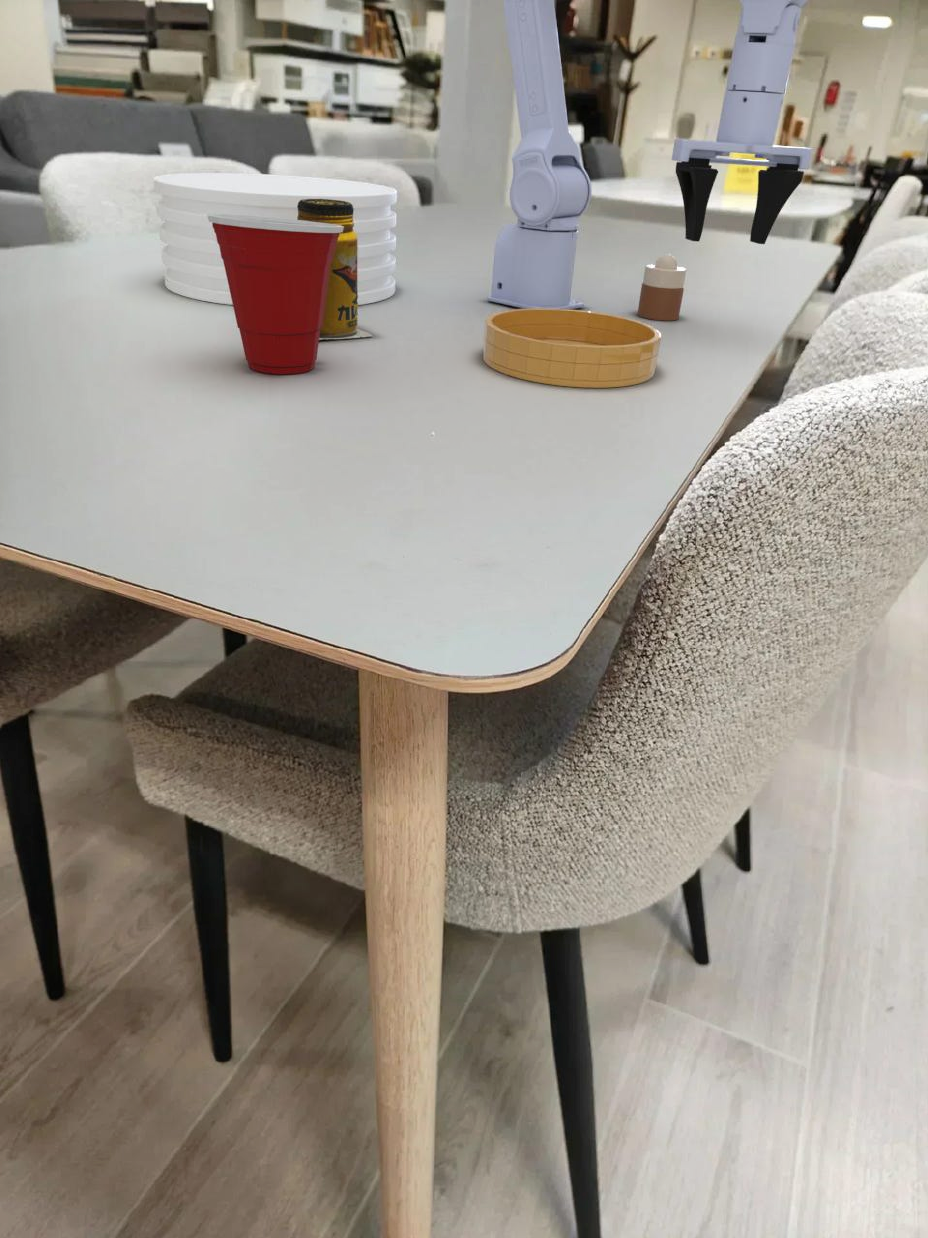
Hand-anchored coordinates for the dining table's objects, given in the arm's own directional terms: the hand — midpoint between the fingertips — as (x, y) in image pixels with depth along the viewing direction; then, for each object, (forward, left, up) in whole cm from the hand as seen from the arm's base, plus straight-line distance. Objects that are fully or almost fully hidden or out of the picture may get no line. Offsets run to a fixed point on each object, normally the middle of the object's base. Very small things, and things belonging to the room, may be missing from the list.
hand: (725, 241), depth 92 cm
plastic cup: (-17, -46, -10) cm, 50 cm away
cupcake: (-9, +5, -10) cm, 14 cm away
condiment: (-25, -35, -10) cm, 44 cm away
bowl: (-2, -24, -10) cm, 26 cm away
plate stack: (-47, -22, -10) cm, 53 cm away
